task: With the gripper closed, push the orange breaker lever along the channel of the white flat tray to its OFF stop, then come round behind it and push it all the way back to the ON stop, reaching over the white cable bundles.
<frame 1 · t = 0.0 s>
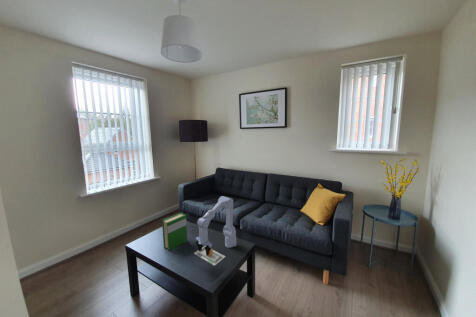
hand: (203, 252, 134), 10 cm above the table, fingers open, 7 cm apart
white flat tray: (209, 256, 145), on the table
breaker lever: (209, 251, 144), point 4 cm above the table, slide at 0.0 cm
hardback book: (175, 244, 160), on the table
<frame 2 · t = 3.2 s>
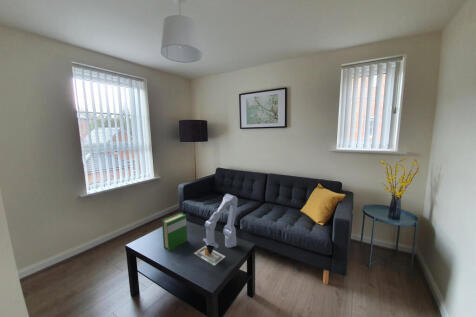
hand: (210, 253, 143), 4 cm above the table, fingers closed
breaker lever: (208, 250, 145), point 4 cm above the table, slide at -1.4 cm, touching gripper
everything else where it was.
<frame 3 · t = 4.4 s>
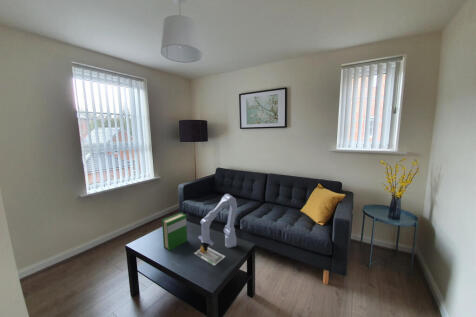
hand: (205, 250, 146), 4 cm above the table, fingers closed
breaker lever: (203, 248, 148), point 4 cm above the table, slide at -6.2 cm, touching gripper
everything else where it was.
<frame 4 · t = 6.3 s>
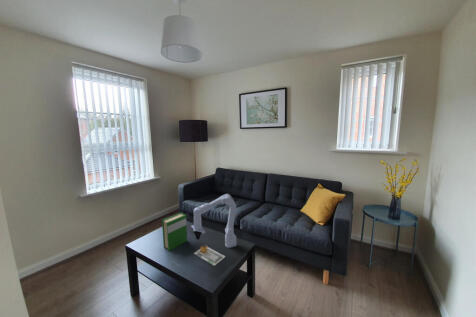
hand: (198, 239, 151), 10 cm above the table, fingers closed
breaker lever: (203, 248, 148), point 4 cm above the table, slide at -6.0 cm
everything else where it was.
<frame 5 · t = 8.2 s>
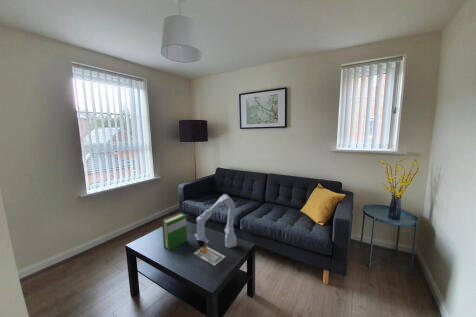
hand: (201, 247, 150), 4 cm above the table, fingers closed
breaker lever: (203, 248, 148), point 4 cm above the table, slide at -6.0 cm, touching gripper
everything else where it was.
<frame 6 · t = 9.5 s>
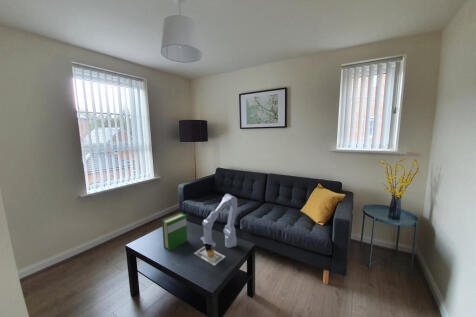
hand: (208, 251, 145), 4 cm above the table, fingers closed
breaker lever: (210, 252, 143), point 4 cm above the table, slide at 1.5 cm, touching gripper
everything else where it was.
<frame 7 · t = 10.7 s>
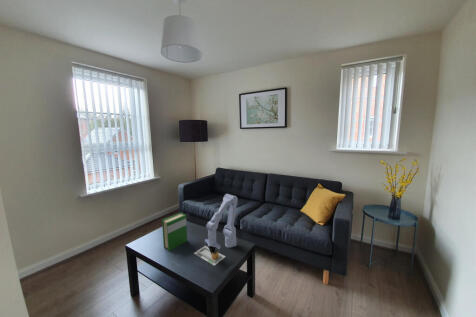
hand: (212, 254, 142), 4 cm above the table, fingers closed
breaker lever: (215, 254, 141), point 4 cm above the table, slide at 6.1 cm, touching gripper
everything else where it was.
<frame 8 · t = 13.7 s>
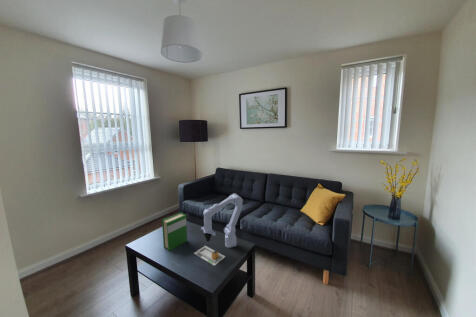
hand: (208, 241, 148), 10 cm above the table, fingers closed
breaker lever: (215, 254, 141), point 4 cm above the table, slide at 6.0 cm
everything else where it was.
at the end: breaker lever slide at 6.0 cm; breaker lever moved 6.0 cm from its start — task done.
